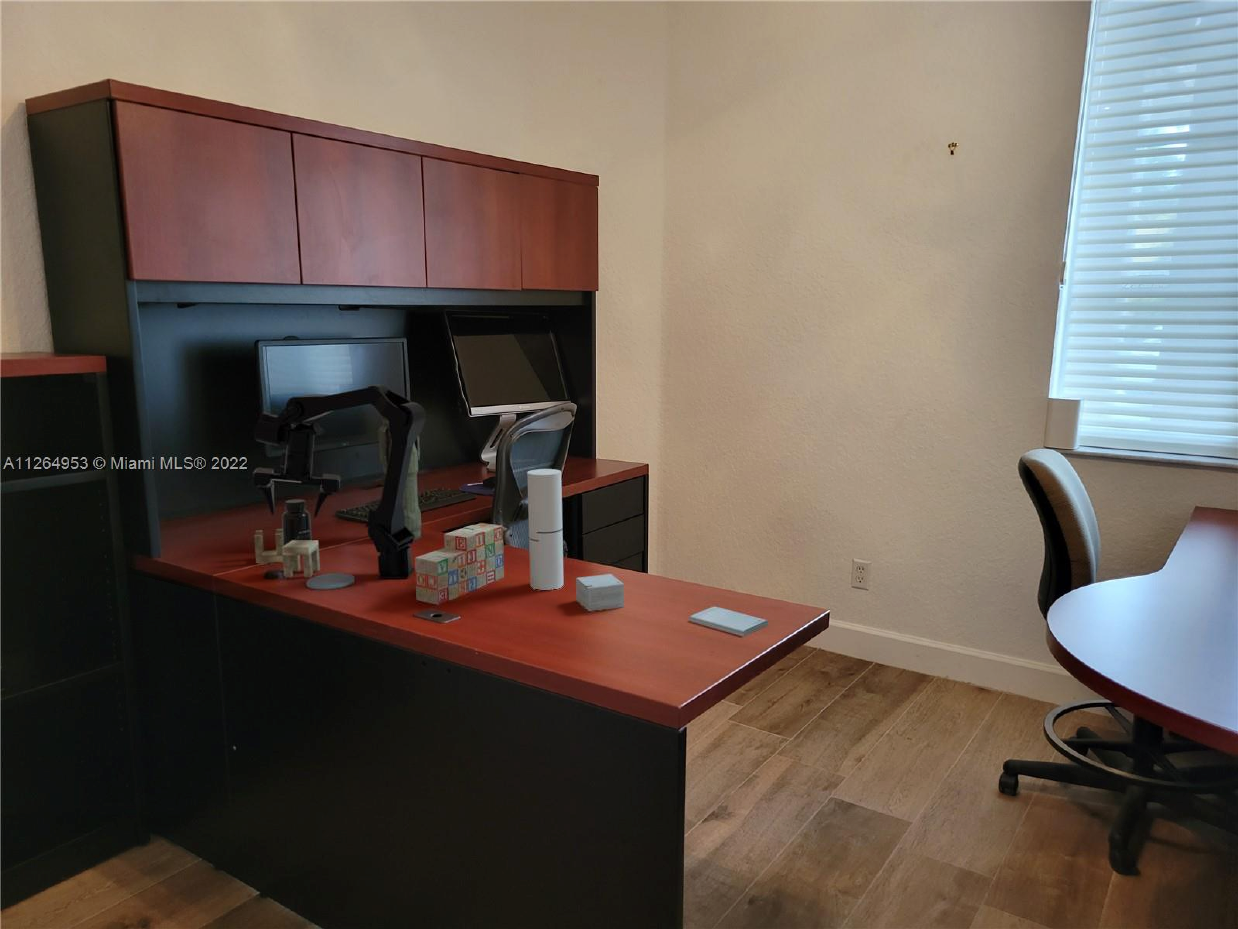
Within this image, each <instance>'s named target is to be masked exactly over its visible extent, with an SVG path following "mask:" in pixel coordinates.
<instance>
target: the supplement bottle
mask: <svg viewBox="0 0 1238 929" xmlns="http://www.w3.org/2000/svg"><path fill="white" fill-rule="evenodd" d="M284 505H285V506H284V509H285V510H286V511H284V512H283V513H282V515H281V526H282V528H281V529H283V543H284V546H285V545H286V544H288V543H289V542H291V541H292V540H312V539H313V538H312V524H311V523H312V521H311V519H312V518H311V513H310V511H309V510H307V509H306V508H307V507H306V506H307V505H306V500H305V499H300V498H299V499H295V498H294V499H289V500H285V502H284Z"/></svg>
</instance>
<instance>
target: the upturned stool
mask: <svg viewBox="0 0 1238 929" xmlns="http://www.w3.org/2000/svg"><path fill="white" fill-rule="evenodd" d="M263 535H264V534H263V530H262V529H260V530H255V534H254V536H253V538H254V552H255V564H256V563H263V564H262V565H268V564H267V563H271V564H274V563H273V562H282V563H283V555H282V547H283V546H284V543H283V529H282V528H276V530H275V533H274V536H275V537H274V538H275V539H274V540H275V549H272V550H271V549H269V550H264V536H263ZM264 563H265V564H264Z"/></svg>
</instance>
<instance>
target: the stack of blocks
mask: <svg viewBox="0 0 1238 929" xmlns="http://www.w3.org/2000/svg"><path fill="white" fill-rule="evenodd" d="M503 532H504V531H503V526H502V525H499V524H490V523H484V522H479V523H478V524H471V525H468V526H464V527H463V528H459V529H455V530H453V531H451V532H446V533H444V536H443V537H444V538H443V539H444V540H443V541H444V548H441V549H437V550H434V551H430V552H428V553H425V554H421V555H418V556H416V557H415V558H414V566H415V567H414V571H415V572H414V575H415V576H414V580H415V594H416V595H415V596H416V597H415V598H416V601H420V602H423V603H428V604H433V605H437V606H438V605H441V604H443V603H446V602H448V601H452V600H454V599H456V598H458V596H459V597H462V596H464V595H466V593H467V594H469V593H471V592H470V591H472V590H474V589H477V590H478V588H479V589H481V588H483V587H482V586H484V585H486V586H489V585H491V584H490V583H492V582H494V583H496V582H495V581H497V580H499V579H501V578H504V579H505V568H504V567H505V566H504V539H503V534H504V533H503ZM499 581H500V580H499ZM497 582H498V581H497ZM488 584H489V585H488ZM492 584H493V583H492ZM480 587H481V588H480ZM484 587H485V586H484ZM474 591H475V590H474ZM468 592H469V593H468ZM472 592H473V591H472ZM463 594H464V595H463Z"/></svg>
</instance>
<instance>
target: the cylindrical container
mask: <svg viewBox="0 0 1238 929" xmlns="http://www.w3.org/2000/svg"><path fill="white" fill-rule="evenodd" d="M526 473H527V476H526V477H527V506H528V507H527V508H528V537H529V538H528V540H529V541H528V543H529V544H528V545H529V546H528V548H529V577H530V578H529V580H530V584H529V585H530V586H531V587H532V588H533V590H535V589H540V590H551V589H552V590H551V591H554V590H553V589H557V590H560V589H562V588H563V587H564V586H563V585H564V543H563V539H564V538H563V499H562V498H563V496H562V494H563V492H562V491H563V488H562V471H561V470H559V469H555V468H553V469H552V468H538V469H531V470H528V471H527V472H526ZM562 586H563V587H562ZM531 587H530V588H531ZM561 587H562V588H561ZM532 588H531V589H532ZM559 588H560V589H559ZM540 590H539V591H540Z"/></svg>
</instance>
